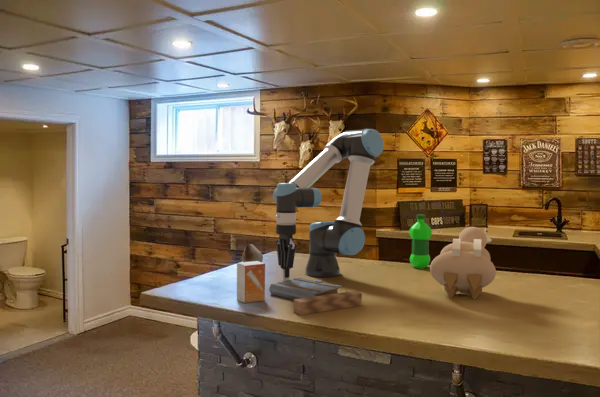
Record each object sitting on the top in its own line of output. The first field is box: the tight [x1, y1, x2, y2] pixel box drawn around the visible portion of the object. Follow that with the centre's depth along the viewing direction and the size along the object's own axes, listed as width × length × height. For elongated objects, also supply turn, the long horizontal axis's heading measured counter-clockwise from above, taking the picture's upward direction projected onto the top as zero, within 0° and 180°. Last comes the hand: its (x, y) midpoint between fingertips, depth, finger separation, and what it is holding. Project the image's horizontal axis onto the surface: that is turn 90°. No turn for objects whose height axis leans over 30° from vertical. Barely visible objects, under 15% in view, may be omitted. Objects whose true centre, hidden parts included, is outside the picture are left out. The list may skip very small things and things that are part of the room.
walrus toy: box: [429, 226, 497, 301], centre depth 179 cm, size 30×28×23 cm
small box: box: [236, 261, 266, 304], centre depth 170 cm, size 8×6×13 cm
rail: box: [293, 290, 363, 316], centre depth 160 cm, size 24×4×4 cm, turn 120°
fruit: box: [242, 241, 264, 263], centre depth 227 cm, size 10×9×12 cm
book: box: [268, 277, 343, 301], centre depth 177 cm, size 21×16×5 cm
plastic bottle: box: [408, 214, 432, 269], centre depth 231 cm, size 10×10×25 cm
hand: (285, 285), depth 186 cm, fingers closed
